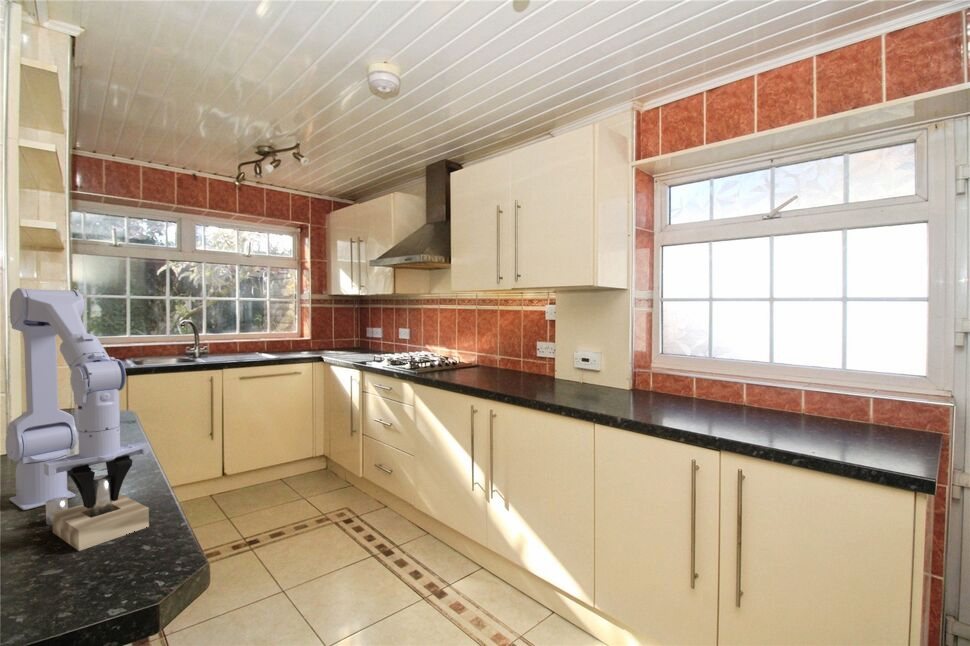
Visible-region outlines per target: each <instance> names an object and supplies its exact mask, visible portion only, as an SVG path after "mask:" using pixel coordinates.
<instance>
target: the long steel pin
mask: <svg viewBox="0 0 970 646" xmlns="http://www.w3.org/2000/svg"><path fill="white" fill-rule="evenodd" d="M93 499H94V504H93V507H92V508H90V518H92V517H96V516H99V515H102V514H105V513H109V512H112V483H111V475H108V474H102V475H101V474H100V475H97V476H94V481H93Z"/></svg>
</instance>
